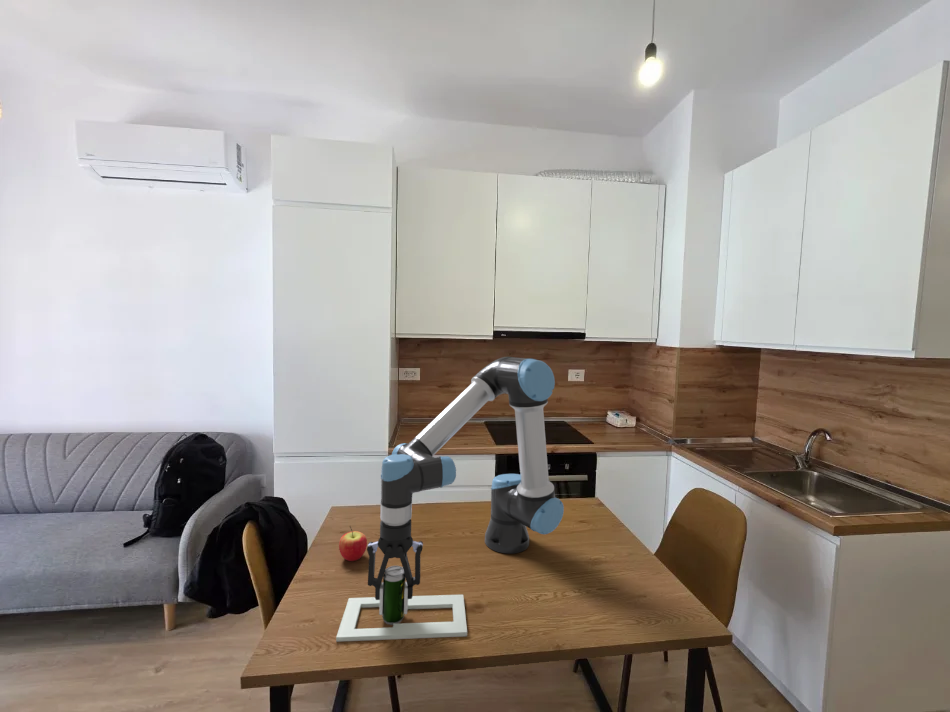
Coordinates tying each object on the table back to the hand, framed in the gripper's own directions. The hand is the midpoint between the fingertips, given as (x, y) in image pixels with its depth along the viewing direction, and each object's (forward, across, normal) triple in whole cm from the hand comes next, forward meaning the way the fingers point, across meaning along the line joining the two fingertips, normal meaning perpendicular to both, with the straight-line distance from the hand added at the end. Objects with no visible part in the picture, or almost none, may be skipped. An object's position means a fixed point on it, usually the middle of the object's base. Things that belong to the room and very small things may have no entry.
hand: (393, 610), depth 102 cm
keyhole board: (+2, -3, 0) cm, 3 cm away
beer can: (+2, 0, 0) cm, 2 cm away
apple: (+2, +15, -28) cm, 32 cm away
